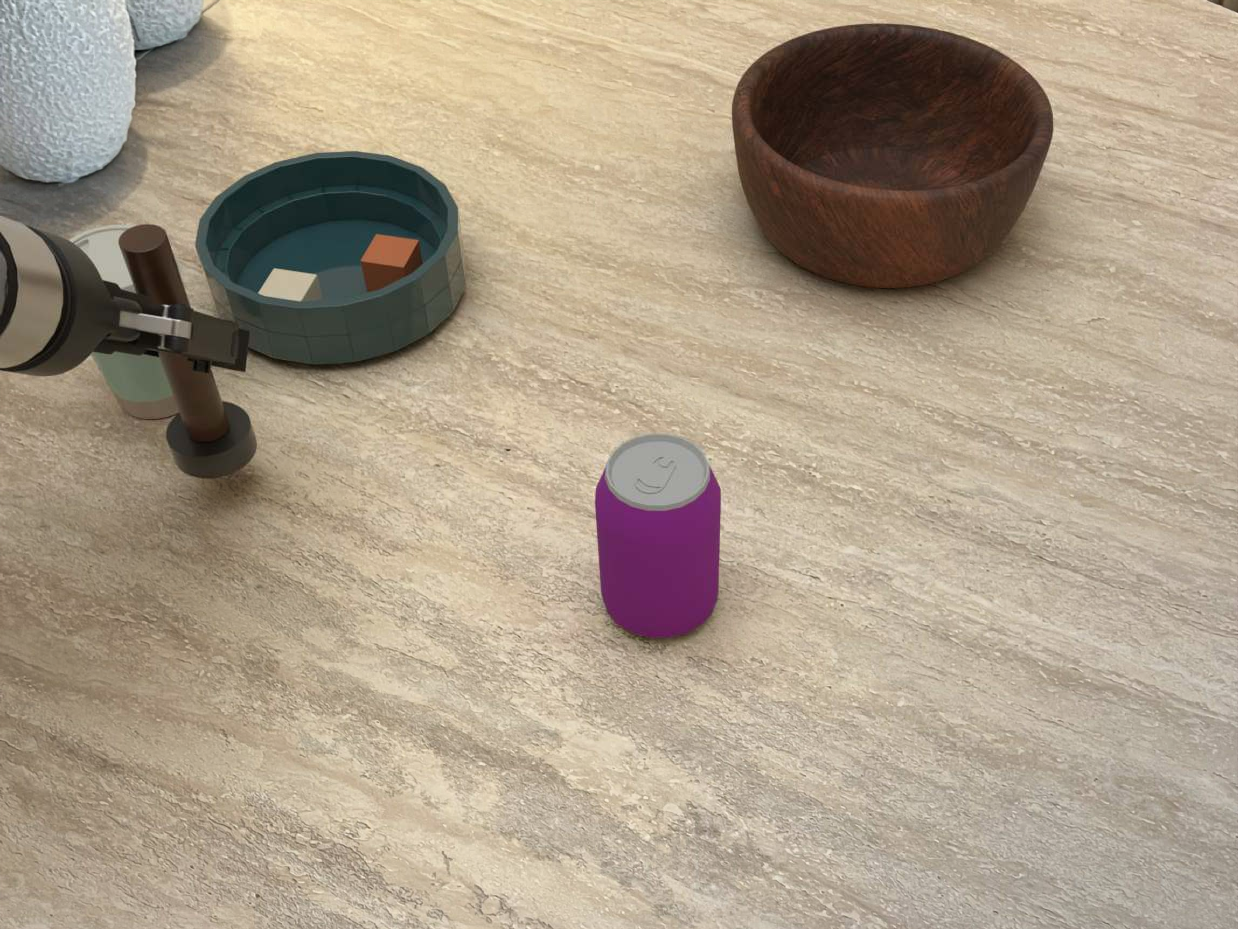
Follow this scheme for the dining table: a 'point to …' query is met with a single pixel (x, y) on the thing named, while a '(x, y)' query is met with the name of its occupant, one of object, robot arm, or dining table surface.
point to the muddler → (187, 371)
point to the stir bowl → (332, 254)
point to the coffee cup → (127, 375)
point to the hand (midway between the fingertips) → (217, 347)
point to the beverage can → (658, 535)
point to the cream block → (292, 286)
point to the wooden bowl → (888, 151)
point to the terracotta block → (389, 260)
